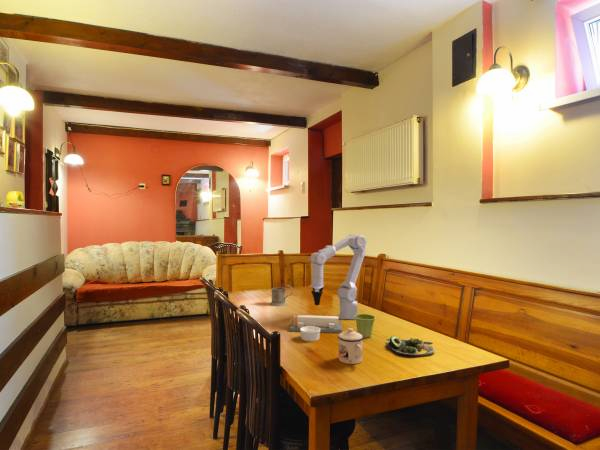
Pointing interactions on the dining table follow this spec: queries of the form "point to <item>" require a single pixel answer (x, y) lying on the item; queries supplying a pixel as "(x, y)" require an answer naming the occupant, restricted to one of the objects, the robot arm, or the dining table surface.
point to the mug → (279, 296)
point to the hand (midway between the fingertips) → (317, 303)
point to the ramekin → (310, 333)
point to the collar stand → (322, 329)
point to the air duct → (316, 320)
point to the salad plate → (409, 347)
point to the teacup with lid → (350, 347)
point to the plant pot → (364, 324)
